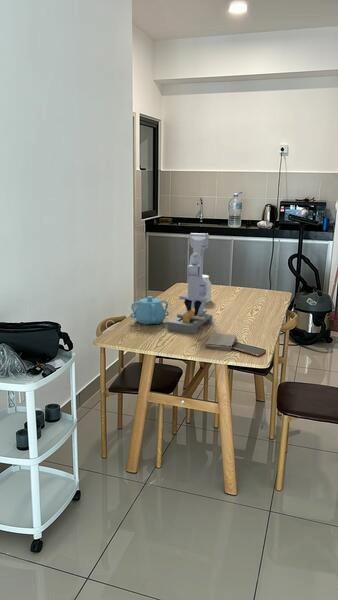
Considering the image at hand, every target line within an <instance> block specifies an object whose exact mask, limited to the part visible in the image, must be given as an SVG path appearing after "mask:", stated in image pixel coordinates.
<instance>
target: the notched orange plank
mask: <svg viewBox="0 0 338 600" xmlns="http://www.w3.org/2000/svg"><path fill="white" fill-rule="evenodd" d="M192 315H193V316H195V309H191V310H189V311H188V312H186V313H184V314H183V320H182V322H187V323H191V321H190V318H191V319H192ZM196 316H198V314H197V315H196Z"/></svg>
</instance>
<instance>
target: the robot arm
mask: <svg viewBox="0 0 338 600" xmlns="http://www.w3.org/2000/svg"><path fill="white" fill-rule="evenodd" d="M209 238H210V236H209V233H208V232H207V233H205V232H202V233H201V232H200V233H198V232H190V234H189V245H190V247H191V248H192V254H191V255H190V256H189V264H188V265H187V268H186V275H187V295H185V294H180V295H179V299H178V300H181V301H182V300H183V303H184V305H185V307H186V309H185V311H189V310H191V309H195V316H196V315H197V314H198V313H203V314H205V312H207V309H205V304H207V303H208V302H207V298H204V296H206V295H207V282H206V281H205V280H204V279H203V278H202V276H203V275H204V274H203V273H204V271H203V270H204V252H205V250H206V249H208V247H209ZM201 284H203V285H201Z"/></svg>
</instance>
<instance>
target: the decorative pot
mask: <svg viewBox="0 0 338 600" xmlns="http://www.w3.org/2000/svg"><path fill="white" fill-rule="evenodd" d="M163 303H165V307H164V306H163ZM135 305H136V306H135ZM134 306H135V309H134ZM168 306H169V303H168V301H167V300H165V299H164V300H163V299H161V300H160V299H159V298H155V297H154V296H152V295H147V296H146V297H145V298H141V299H140V298H139V299H138V301H134V302H132V304H131V306H130V307H131V310H132V313H131V314H130V317H131V319H135V320H136V321H137V322H138V324H139V323H140V324H142V326H143V325H144V326H148V325H149V324H151V325H153V324H154V325H160V324H161V323H162V322H164V320H165V319H166V317H168V316H169V314H170V313H169V311H167V310H168Z"/></svg>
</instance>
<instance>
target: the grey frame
mask: <svg viewBox="0 0 338 600" xmlns="http://www.w3.org/2000/svg"><path fill="white" fill-rule="evenodd" d="M186 312H188V311H186V310H185V311H183V312H181V313H179V312H178V313H177V314H176V316H175V317H173V318H171V319H170V320H168V321H167V322H166V324H167V325H166V331H167V330H169V331H172V332H180V333H187V334H191V335H196V334H197V333H198V332H199V330H198V329H199V327H200V326H201V325H203V324H209V325H211V324H212V323H213V314H209V313H198V316H193V315H192V319H191V318H190V323H187V322H183V314H184V313H186ZM211 322H212V323H211Z"/></svg>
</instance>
